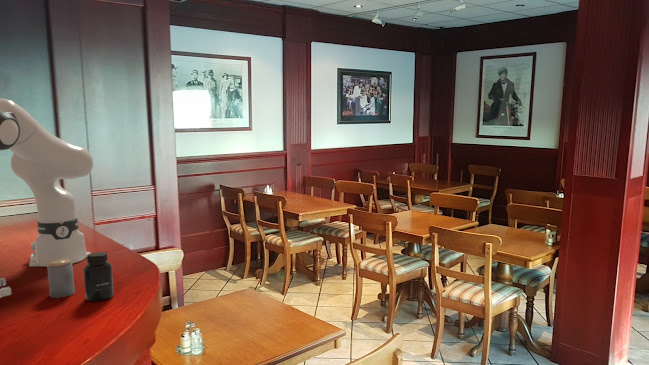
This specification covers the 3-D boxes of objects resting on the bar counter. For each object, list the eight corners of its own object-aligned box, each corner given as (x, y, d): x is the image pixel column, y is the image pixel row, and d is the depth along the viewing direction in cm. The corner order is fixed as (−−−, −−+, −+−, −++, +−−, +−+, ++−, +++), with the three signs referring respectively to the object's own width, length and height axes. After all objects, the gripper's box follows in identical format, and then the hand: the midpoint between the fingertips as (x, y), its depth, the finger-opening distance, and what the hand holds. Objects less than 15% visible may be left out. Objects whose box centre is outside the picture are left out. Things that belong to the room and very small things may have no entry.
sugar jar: (48, 293, 133) (44, 261, 132) (71, 288, 137) (69, 257, 135) (52, 299, 128) (49, 266, 127) (77, 294, 132) (74, 261, 131)
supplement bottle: (103, 303, 125) (99, 258, 124) (80, 301, 127) (76, 257, 125) (119, 293, 132) (116, 251, 130) (97, 292, 133) (93, 250, 132)
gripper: (-61, 298, 107) (13, 283, 116) (-64, 276, 122) (1, 265, 131) (-58, 325, 108) (15, 309, 116) (-61, 300, 123) (4, 287, 132)
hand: (8, 285), depth 124 cm, fingers open, 8 cm apart
